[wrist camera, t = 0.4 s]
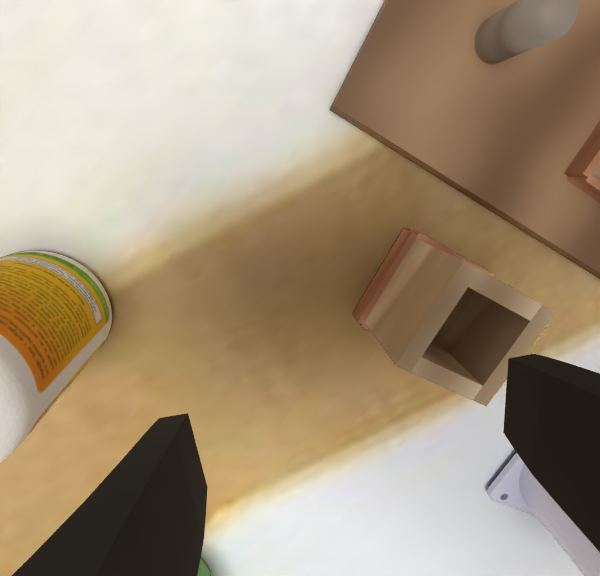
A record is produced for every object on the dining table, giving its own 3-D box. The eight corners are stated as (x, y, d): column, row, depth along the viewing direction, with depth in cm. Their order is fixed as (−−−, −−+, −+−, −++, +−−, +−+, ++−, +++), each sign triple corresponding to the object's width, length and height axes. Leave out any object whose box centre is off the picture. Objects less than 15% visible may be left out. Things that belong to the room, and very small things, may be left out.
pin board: (750, 97, 17) (889, 79, 13) (608, 283, 19) (692, 312, 16) (469, -167, 13) (557, -302, 9) (329, 109, 15) (354, 91, 12)
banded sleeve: (486, 272, 18) (566, 308, 14) (431, 353, 20) (487, 414, 15) (405, 225, 17) (462, 249, 12) (350, 316, 18) (384, 369, 14)
